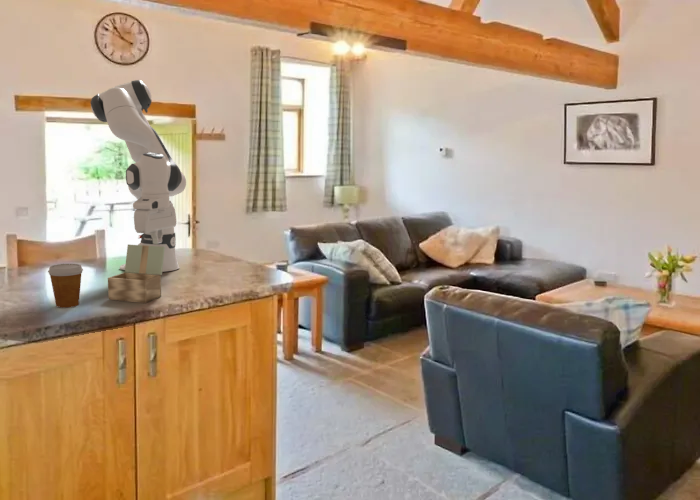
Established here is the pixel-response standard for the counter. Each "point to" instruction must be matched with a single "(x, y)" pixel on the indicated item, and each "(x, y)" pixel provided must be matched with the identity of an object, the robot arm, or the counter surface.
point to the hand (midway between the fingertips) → (157, 243)
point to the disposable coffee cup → (66, 284)
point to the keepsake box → (134, 287)
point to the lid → (144, 259)
